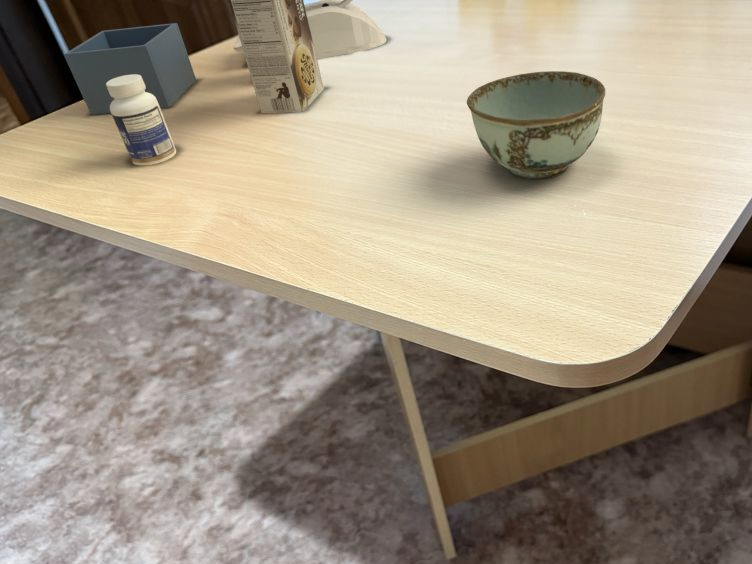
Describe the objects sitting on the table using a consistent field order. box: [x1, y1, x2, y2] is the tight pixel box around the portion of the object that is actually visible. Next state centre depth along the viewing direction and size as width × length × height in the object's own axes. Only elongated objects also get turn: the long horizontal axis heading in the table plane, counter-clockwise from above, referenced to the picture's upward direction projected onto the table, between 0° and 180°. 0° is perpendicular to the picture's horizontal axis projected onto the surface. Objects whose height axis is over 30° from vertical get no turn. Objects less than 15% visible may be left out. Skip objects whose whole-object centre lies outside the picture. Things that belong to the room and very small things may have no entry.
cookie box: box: [228, 0, 325, 114], centre depth 92 cm, size 9×6×16 cm
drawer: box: [63, 22, 197, 116], centre depth 104 cm, size 16×12×9 cm
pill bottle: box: [106, 74, 177, 166], centre depth 83 cm, size 5×5×10 cm
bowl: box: [466, 70, 606, 181], centre depth 70 cm, size 14×13×8 cm
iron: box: [233, 0, 387, 59], centre depth 112 cm, size 11×24×15 cm, turn 99°
